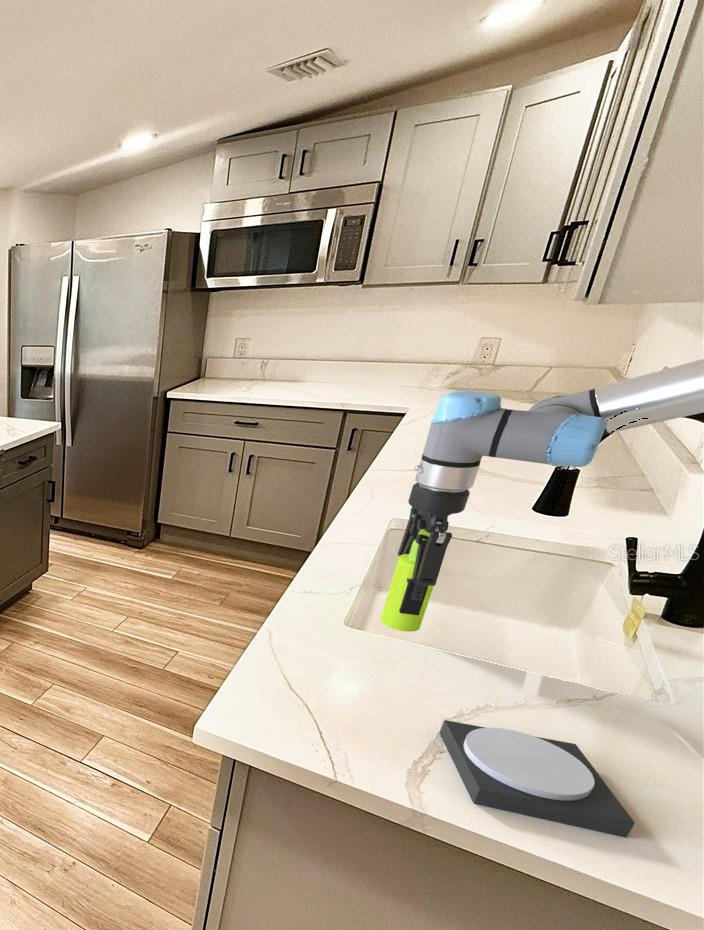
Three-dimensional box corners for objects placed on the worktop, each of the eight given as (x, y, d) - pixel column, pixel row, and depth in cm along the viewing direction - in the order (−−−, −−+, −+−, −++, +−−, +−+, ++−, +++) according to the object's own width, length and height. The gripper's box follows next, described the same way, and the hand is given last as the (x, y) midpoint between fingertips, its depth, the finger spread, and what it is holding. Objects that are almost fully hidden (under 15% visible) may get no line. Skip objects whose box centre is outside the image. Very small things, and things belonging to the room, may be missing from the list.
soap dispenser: (375, 626, 114) (404, 527, 106) (384, 612, 118) (413, 516, 110) (414, 637, 110) (448, 535, 102) (422, 622, 114) (456, 523, 106)
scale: (568, 757, 83) (578, 737, 81) (626, 837, 71) (639, 816, 70) (439, 732, 88) (446, 714, 87) (473, 803, 77) (482, 783, 75)
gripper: (400, 468, 113) (368, 579, 122) (430, 502, 97) (391, 626, 107) (451, 471, 110) (415, 585, 119) (491, 506, 94) (445, 634, 104)
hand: (404, 604), depth 113 cm, fingers closed on soap dispenser, 6 cm apart
